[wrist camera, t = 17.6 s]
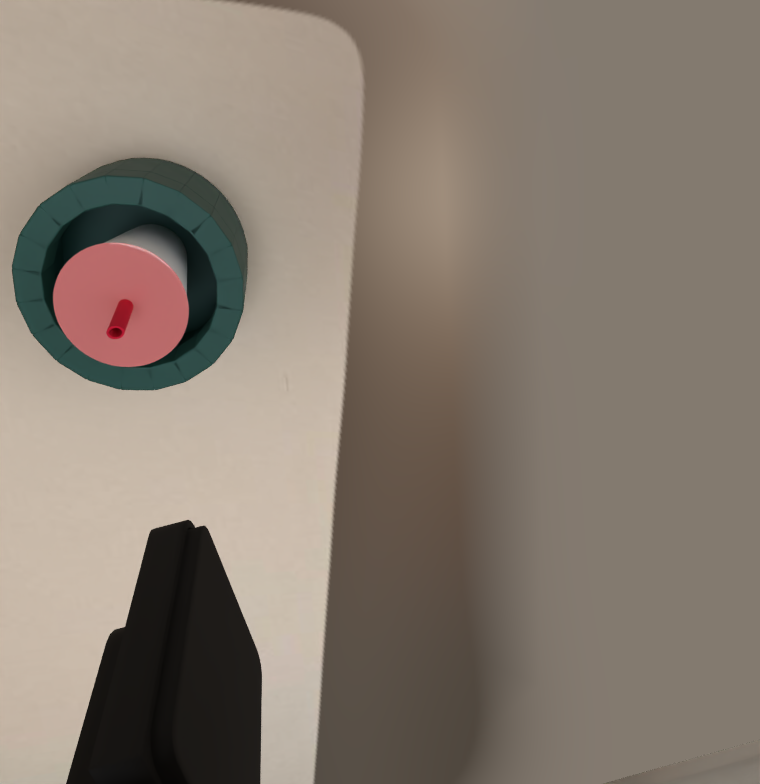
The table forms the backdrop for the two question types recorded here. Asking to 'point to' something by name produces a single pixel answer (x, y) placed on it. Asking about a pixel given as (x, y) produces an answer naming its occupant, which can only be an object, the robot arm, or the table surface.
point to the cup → (125, 297)
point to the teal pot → (114, 217)
